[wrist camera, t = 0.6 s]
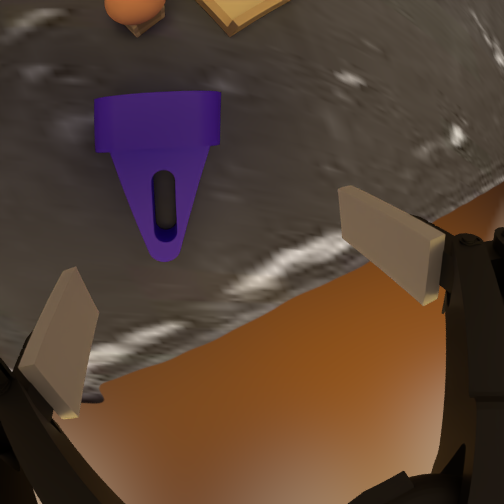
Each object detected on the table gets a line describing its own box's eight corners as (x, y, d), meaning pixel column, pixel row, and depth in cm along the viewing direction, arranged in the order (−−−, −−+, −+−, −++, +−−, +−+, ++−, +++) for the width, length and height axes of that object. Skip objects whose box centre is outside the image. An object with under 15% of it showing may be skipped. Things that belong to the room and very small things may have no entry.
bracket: (114, 103, 31) (88, 98, 20) (208, 98, 33) (224, 90, 23) (123, 249, 38) (109, 300, 28) (208, 244, 41) (222, 291, 30)
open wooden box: (117, 17, 26) (111, 7, 22) (144, -4, 26) (142, -16, 22) (137, 37, 28) (133, 29, 24) (165, 16, 27) (164, 6, 24)
